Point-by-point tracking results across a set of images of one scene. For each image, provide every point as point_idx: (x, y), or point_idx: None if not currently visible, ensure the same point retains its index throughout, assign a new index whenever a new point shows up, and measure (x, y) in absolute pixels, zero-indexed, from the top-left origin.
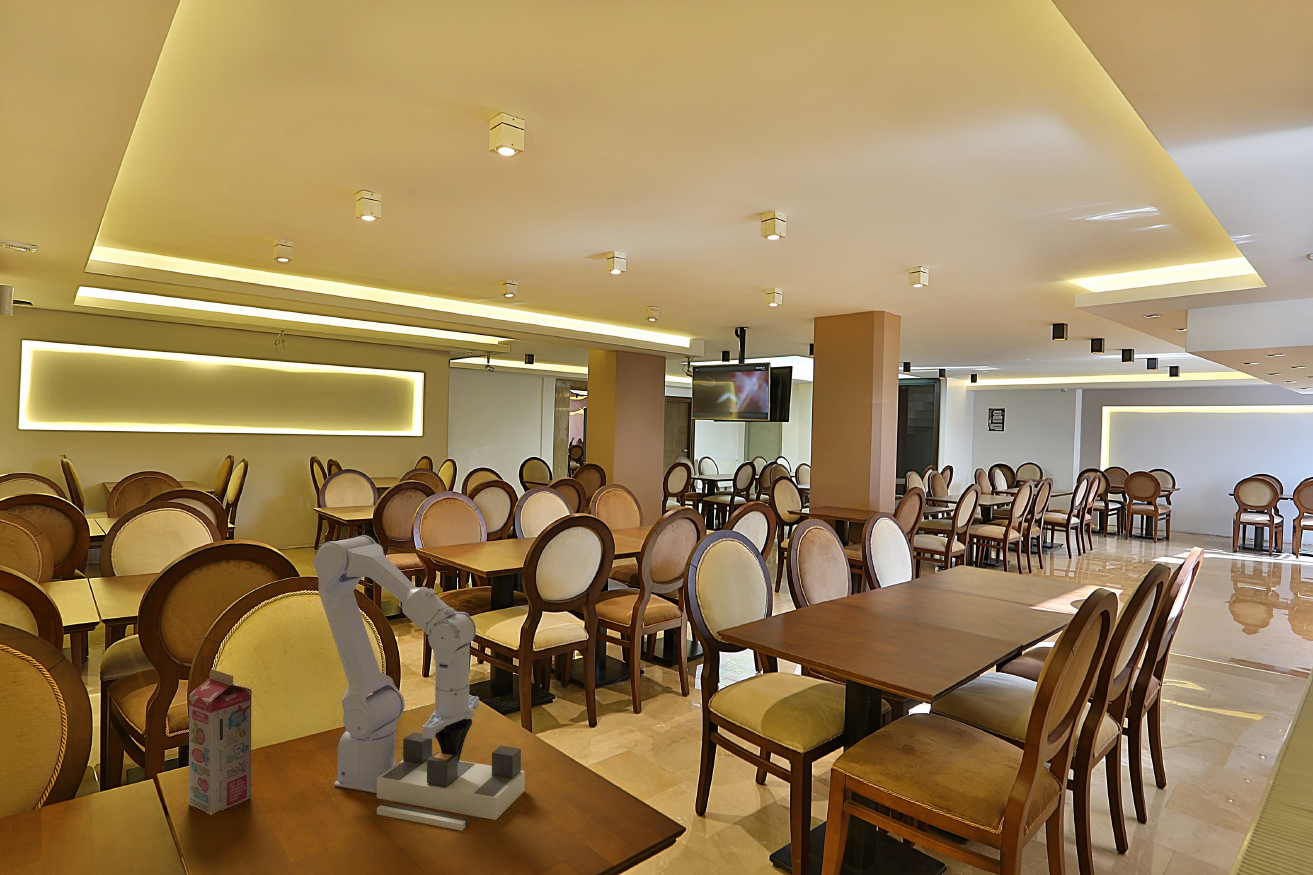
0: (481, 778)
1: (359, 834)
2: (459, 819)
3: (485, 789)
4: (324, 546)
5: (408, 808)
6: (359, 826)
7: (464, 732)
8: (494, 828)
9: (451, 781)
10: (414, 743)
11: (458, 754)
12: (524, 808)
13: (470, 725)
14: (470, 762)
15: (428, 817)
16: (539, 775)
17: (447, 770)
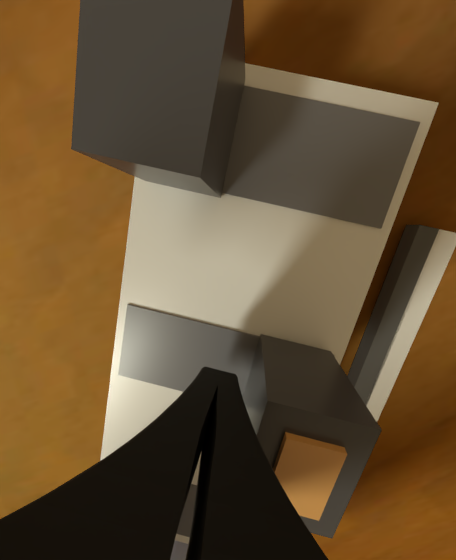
0: (244, 238)
1: (436, 481)
2: (426, 252)
3: (352, 184)
4: None
5: None
6: (397, 492)
7: (158, 521)
8: (439, 125)
9: (305, 347)
10: None
11: (219, 394)
12: (302, 52)
13: (9, 547)
14: (119, 323)
15: (406, 351)
16: (64, 72)
17: (358, 394)
